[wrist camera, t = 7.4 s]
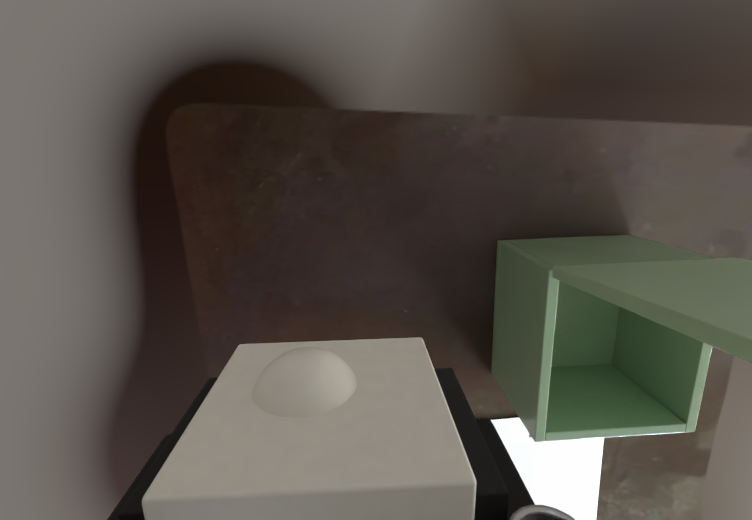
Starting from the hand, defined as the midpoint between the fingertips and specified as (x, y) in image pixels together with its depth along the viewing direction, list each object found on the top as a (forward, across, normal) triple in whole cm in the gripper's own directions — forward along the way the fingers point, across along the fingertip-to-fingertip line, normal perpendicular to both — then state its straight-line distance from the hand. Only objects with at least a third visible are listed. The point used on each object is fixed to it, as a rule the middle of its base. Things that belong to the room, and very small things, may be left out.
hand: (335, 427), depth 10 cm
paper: (+26, -14, +28) cm, 40 cm away
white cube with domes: (0, 0, 0) cm, 0 cm away
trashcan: (+26, -20, +7) cm, 33 cm away
